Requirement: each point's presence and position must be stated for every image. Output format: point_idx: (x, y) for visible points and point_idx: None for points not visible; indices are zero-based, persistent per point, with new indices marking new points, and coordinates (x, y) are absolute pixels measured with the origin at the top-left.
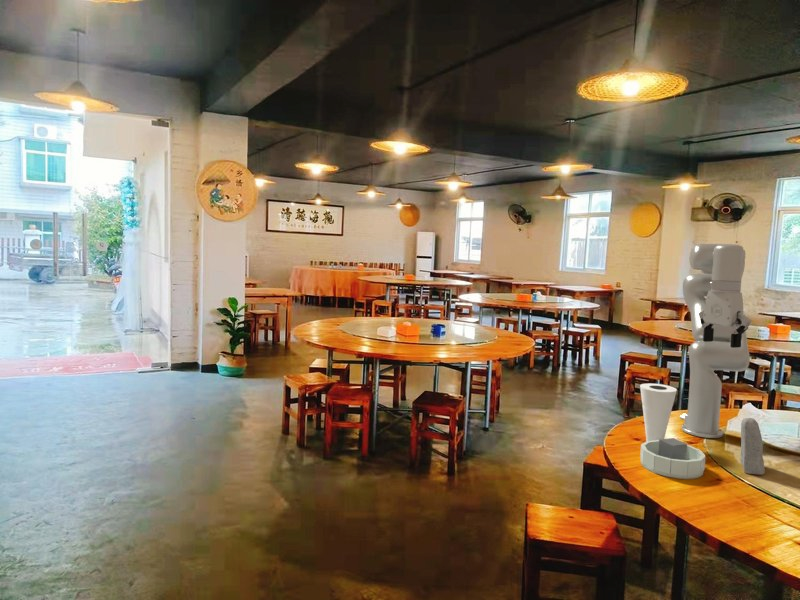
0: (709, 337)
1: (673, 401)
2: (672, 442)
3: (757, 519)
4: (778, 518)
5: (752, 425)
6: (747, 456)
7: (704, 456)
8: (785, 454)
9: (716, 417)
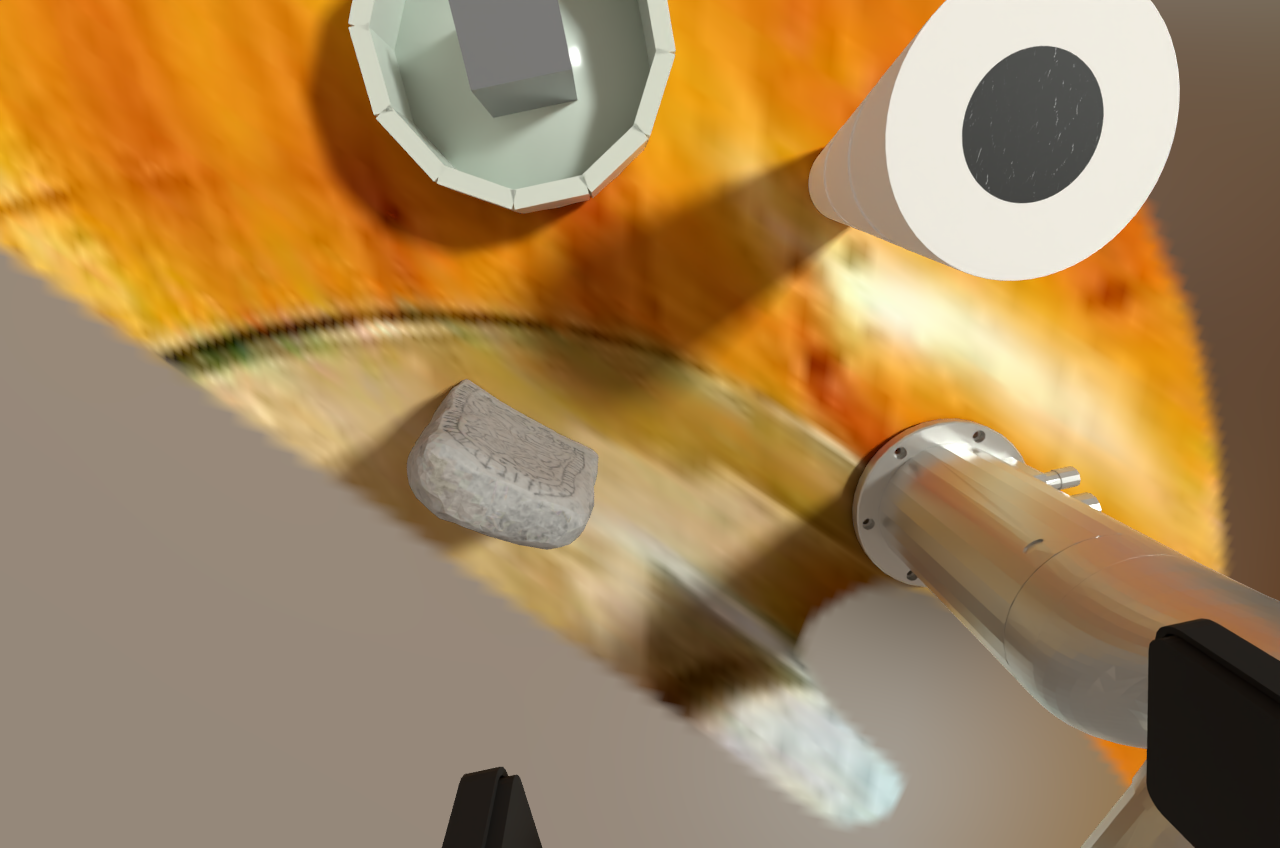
0: (1224, 786)
1: (885, 226)
2: (495, 9)
3: (4, 117)
4: (31, 215)
5: (412, 467)
6: (443, 400)
7: (430, 173)
8: (656, 672)
9: (917, 567)
